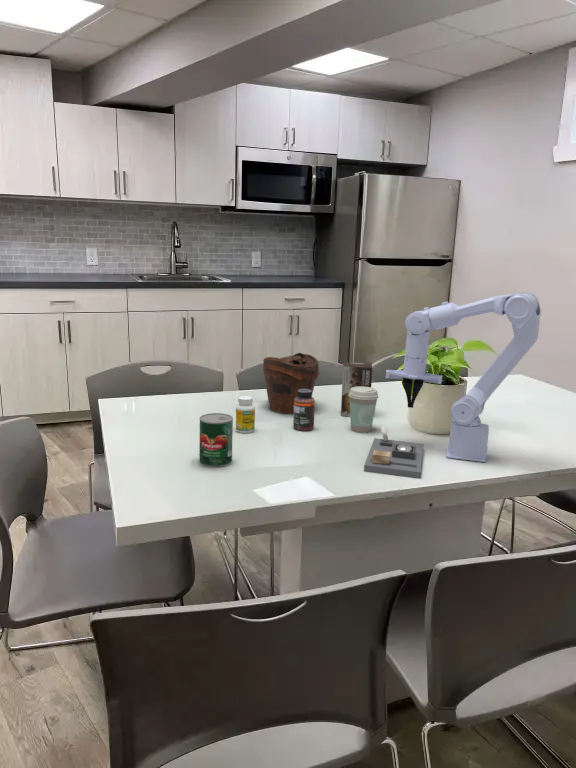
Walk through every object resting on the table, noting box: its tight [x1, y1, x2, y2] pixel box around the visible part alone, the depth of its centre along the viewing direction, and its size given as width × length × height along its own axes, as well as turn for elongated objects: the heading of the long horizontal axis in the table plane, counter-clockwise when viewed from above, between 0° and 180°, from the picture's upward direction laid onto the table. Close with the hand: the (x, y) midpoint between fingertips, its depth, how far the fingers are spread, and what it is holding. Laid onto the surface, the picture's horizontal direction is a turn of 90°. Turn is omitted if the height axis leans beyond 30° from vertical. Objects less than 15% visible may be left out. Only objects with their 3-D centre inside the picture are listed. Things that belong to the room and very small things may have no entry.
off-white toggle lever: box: [380, 427, 389, 440], centre depth 154 cm, size 1×1×4 cm
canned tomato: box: [198, 412, 234, 468], centre depth 141 cm, size 8×8×11 cm
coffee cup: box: [349, 386, 379, 434], centre depth 170 cm, size 8×9×12 cm
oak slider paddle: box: [372, 450, 391, 465], centre depth 142 cm, size 4×3×2 cm
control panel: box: [363, 437, 424, 479], centre depth 148 cm, size 13×21×3 cm, turn 165°
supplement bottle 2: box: [292, 389, 316, 432], centre depth 169 cm, size 6×6×11 cm
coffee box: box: [340, 361, 373, 417], centre depth 185 cm, size 9×6×16 cm
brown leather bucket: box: [262, 352, 320, 415], centre depth 189 cm, size 18×20×18 cm
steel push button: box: [397, 445, 412, 452], centre depth 147 cm, size 4×4×2 cm
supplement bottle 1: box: [235, 395, 256, 434], centre depth 165 cm, size 5×5×10 cm
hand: (410, 406), depth 158 cm, fingers closed
